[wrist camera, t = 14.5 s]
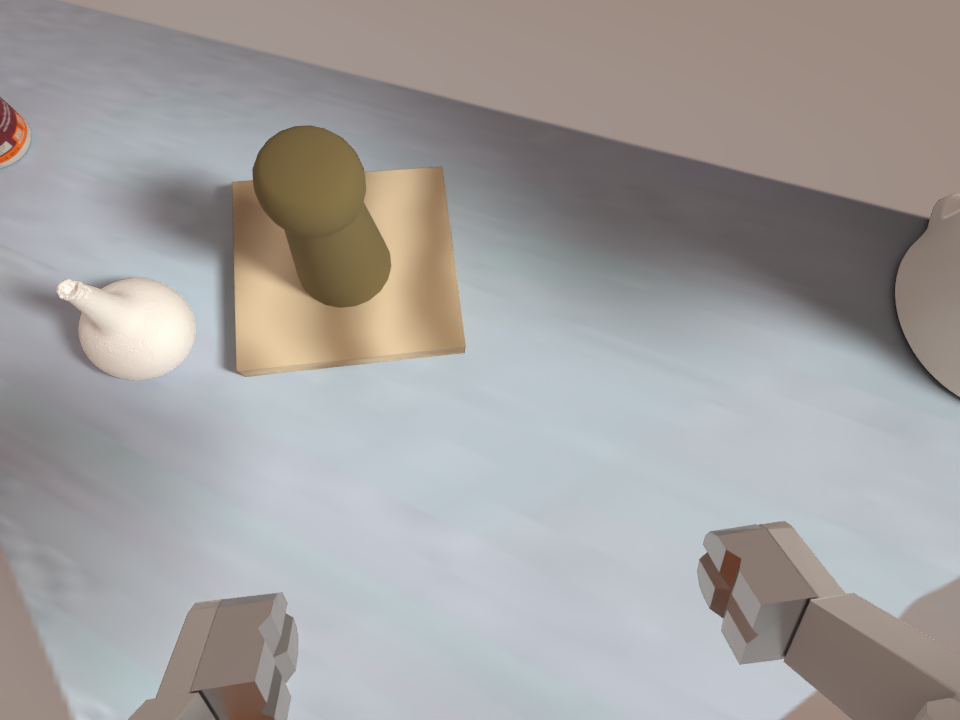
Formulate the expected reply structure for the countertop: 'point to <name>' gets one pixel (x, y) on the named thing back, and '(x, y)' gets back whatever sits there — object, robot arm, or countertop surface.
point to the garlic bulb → (132, 326)
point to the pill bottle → (12, 135)
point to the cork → (323, 214)
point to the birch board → (359, 329)
